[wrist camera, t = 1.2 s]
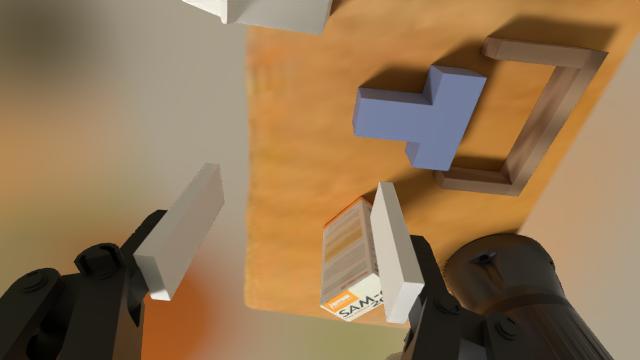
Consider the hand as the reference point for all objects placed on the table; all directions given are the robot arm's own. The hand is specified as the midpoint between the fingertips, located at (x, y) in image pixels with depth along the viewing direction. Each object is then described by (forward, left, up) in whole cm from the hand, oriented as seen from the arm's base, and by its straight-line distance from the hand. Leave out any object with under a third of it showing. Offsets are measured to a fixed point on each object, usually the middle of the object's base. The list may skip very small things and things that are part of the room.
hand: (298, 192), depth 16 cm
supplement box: (-17, -7, -18) cm, 26 cm away
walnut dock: (0, -20, -18) cm, 27 cm away
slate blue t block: (0, -9, -18) cm, 20 cm away
